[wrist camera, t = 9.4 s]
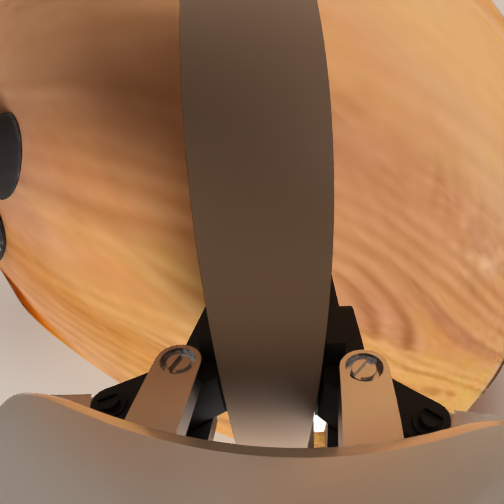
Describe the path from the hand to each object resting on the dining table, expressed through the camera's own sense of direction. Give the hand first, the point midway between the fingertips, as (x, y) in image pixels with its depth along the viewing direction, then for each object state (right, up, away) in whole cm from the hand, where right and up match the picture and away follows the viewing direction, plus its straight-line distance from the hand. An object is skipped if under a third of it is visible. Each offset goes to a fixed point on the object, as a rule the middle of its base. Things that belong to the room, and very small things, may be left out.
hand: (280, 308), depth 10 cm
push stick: (0, 0, 0) cm, 1 cm away
